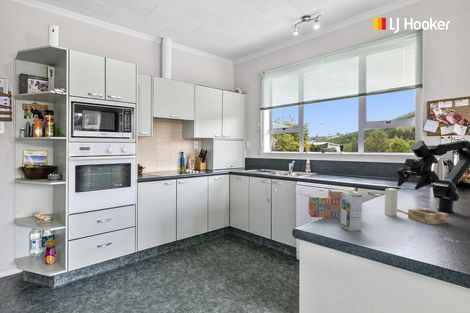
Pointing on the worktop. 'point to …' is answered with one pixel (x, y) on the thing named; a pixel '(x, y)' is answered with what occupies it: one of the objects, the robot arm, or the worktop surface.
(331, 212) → the stack of blocks
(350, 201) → the syrup box
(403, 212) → the red square stick
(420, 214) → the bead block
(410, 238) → the worktop surface
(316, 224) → the worktop surface
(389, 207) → the white rectangular block
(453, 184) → the robot arm
